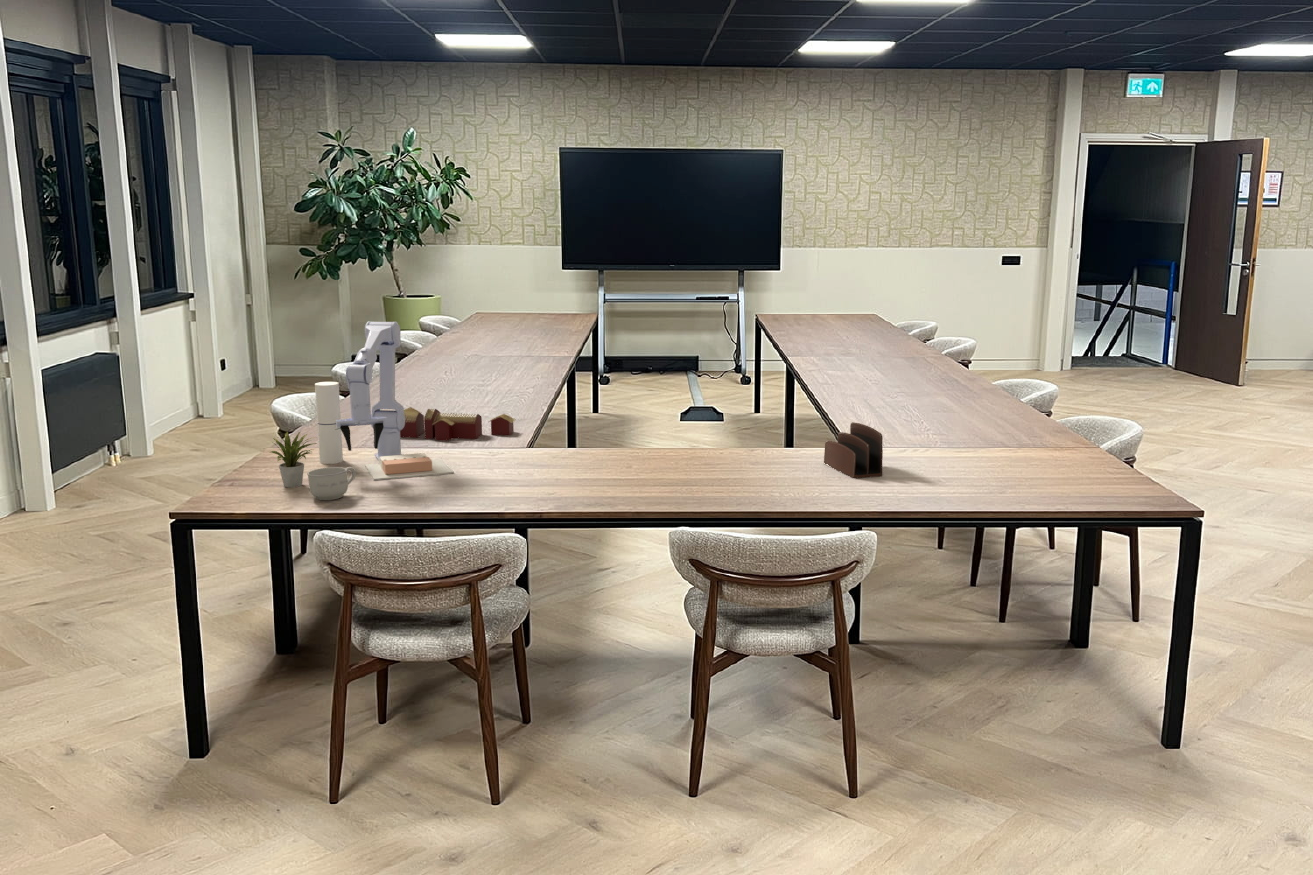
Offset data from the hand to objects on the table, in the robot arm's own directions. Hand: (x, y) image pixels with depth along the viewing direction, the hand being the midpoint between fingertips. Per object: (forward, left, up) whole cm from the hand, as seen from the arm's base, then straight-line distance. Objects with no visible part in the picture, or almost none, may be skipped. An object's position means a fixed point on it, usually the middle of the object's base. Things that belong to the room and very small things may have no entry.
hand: (362, 449), depth 339 cm
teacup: (+20, -11, -9) cm, 25 cm away
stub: (-1, +13, -8) cm, 16 cm away
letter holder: (+45, +142, -9) cm, 149 cm away
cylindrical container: (-24, -7, -9) cm, 26 cm away
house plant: (+4, -21, -9) cm, 23 cm away
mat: (-4, +14, -8) cm, 17 cm away
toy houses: (-51, +36, -9) cm, 63 cm away
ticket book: (-7, +13, -8) cm, 17 cm away
